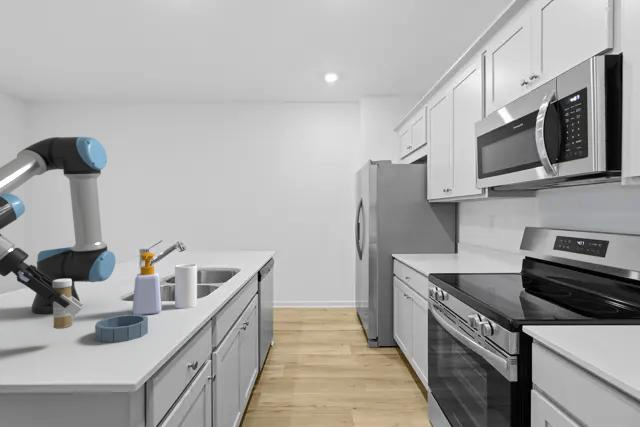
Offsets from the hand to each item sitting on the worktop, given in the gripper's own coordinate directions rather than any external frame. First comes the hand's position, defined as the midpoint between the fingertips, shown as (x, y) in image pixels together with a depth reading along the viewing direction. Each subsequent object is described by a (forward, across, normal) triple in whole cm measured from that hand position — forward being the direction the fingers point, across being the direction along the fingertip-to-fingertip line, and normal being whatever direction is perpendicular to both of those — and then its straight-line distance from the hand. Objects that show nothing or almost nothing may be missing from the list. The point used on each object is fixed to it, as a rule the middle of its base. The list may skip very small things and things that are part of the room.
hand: (78, 310), depth 108 cm
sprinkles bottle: (0, 0, -6) cm, 6 cm away
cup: (+31, -28, +17) cm, 45 cm away
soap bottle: (+21, -23, +7) cm, 32 cm away
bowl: (+14, -2, +1) cm, 15 cm away
